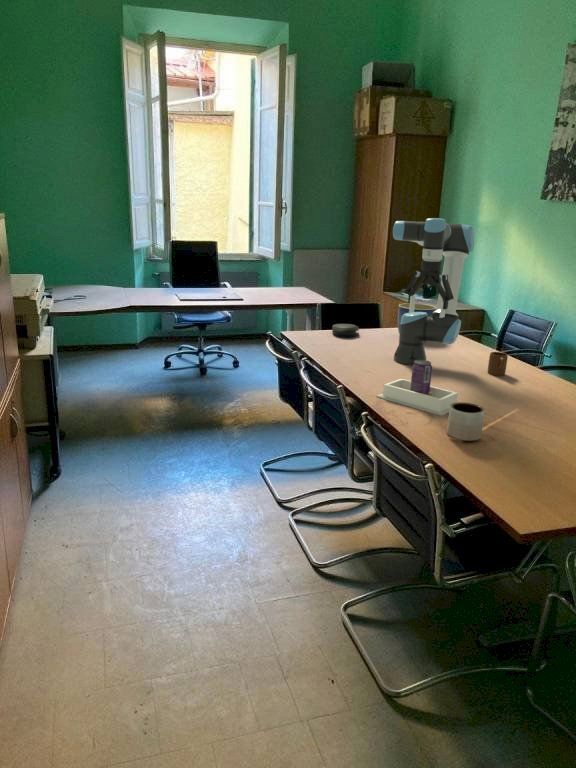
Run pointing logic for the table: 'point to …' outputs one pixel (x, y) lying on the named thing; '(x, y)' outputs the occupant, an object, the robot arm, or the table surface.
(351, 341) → the table surface
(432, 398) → the white rectangular tray
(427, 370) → the beverage can
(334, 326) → the dark grey rounded block
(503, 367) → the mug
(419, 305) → the planter
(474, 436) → the planter
